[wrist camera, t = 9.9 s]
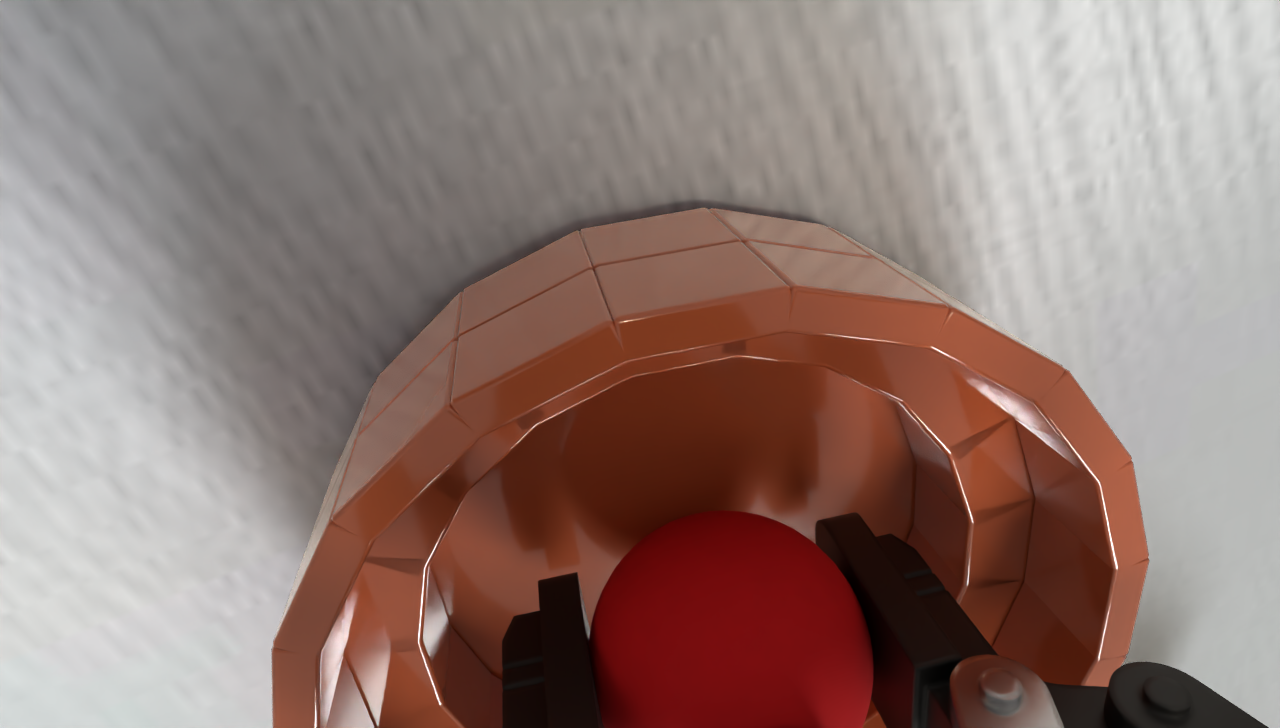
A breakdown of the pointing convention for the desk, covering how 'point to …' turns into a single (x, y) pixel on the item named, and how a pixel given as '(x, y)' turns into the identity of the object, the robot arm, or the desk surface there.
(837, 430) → the bowl
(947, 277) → the desk surface
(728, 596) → the tomato
